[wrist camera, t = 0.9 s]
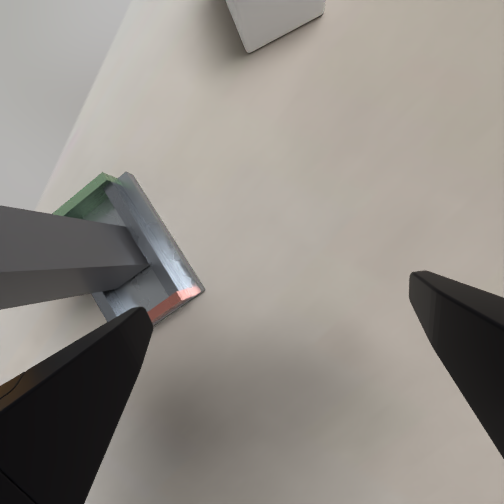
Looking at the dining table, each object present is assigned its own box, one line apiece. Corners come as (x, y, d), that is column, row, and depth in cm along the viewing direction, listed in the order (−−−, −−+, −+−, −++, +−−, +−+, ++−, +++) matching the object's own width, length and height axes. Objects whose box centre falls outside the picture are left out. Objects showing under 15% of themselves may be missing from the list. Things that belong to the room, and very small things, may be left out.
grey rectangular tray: (205, 289, 24) (191, 294, 21) (130, 341, 25) (107, 352, 22) (132, 174, 25) (110, 164, 22) (65, 229, 26) (35, 226, 23)
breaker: (150, 264, 23) (-41, 273, 10) (117, 288, 24) (-106, 328, 11) (128, 227, 24) (-83, 191, 11) (95, 252, 24) (-143, 247, 11)
